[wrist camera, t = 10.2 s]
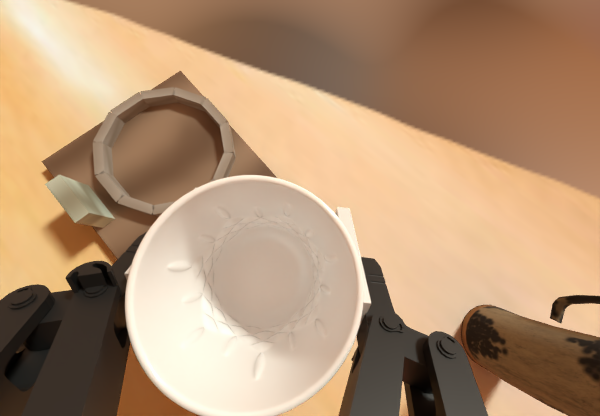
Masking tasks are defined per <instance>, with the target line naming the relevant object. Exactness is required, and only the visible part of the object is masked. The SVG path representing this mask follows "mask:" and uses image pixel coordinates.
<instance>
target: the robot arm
mask: <svg viewBox="0 0 600 416" xmlns="http://www.w3.org/2000/svg"><path fill="white" fill-rule="evenodd" d="M195 189H196V187H195ZM335 214H336V215H337V216H338V218H339V219H340V220H341V222H342V223H343V225H344V226H345V228H346V229H347V231H348V233H349V235H350V236H351V238H352V241H353V243H354V245H355V248H356V250H357V253H358V256H359V260H360V264H361V268H362V274H363V284H364V301H363V311H362V317H361V321H360V325H359V329H358V332H357V335H356V336H357V341H358V347H357V349H356V351H355V353H354V356H353V358H352V361H353V363H352V367H351V371H350V375H349V378H348V382H347V386H346V390H345V393H344V397H343V401H342V405H341V409H340V412H339V416H399V410H400V399H401V388H402V381H403V382H404V386H405V393H406V400H407V407H408V414H409V416H488V414H487V411H486V408H485V406H484V403H483V400H482V397H481V394H480V392H479V389H478V386H477V383H476V381H475V378H474V375H473V372H472V370H471V367H470V364H469V361H468V359H467V356H466V353H465V351H464V349H463V348H462V346H461V345H460V344H459V343H458V341H457V340H456V339H454V338H453V337H452V336H450V335H449V334H446V333H444V332H438V331H435V332H433V333H431V334H430V335H429V336H427V335H425V334H422V333H420V332H418V331H415V330H413V329H411V328H409V327H407V326H406V325H405V324H404V322H403V320H402V319H401V318H400V317H399V316H398V315H397V314H395V312H394V309H393V306H392V303H391V299H390V296H389V293H388V290H387V286H386V284H385V280H384V277H383V273H382V270H381V267H380V266H379V264H378V263H377V262H376V260H375V259H372V258H364V257H361V256H360V251H359V247H358V243H357V238H356V234H355V230H354V225H353V221H352V216H351V212H350V208H344V207H337V209H336V213H335ZM147 232H148V231H147ZM147 232H145V233H144V234H142V235H140V236H139V237H138V238H137V239H136V240H135V241H134V242H133V243H132V244H131V246H129V248H128V249H127V250H126V252H124V253H123V254H122V255H121V256H120V257H119V259H118V260H117V261H116V262H115V263H114V264H113V265H112V266H110V264H109V263H107V262H104V261H93V262H88V263H85V264H83V265H80V266H78V267H76V268H75V269H74V270H72V271H71V272H70V273H69V274H68V275H67V276H66V280H67V282H68V283H69V285H70V287H71V289H72V290H69V291H61V292H54V293H51V292H50V291H49V289H48V288H47V287H46V286H44V285H29V286H26V287H23V288H20V289H17V290H15V291H13V292H11V293H9V294H8V295H7V296H5V297H4V298H3V299H1V300H0V416H117V410H118V405H119V400H120V394H121V389H122V384H123V378H124V373H125V367H126V362H127V357H128V351H129V346H130V339H129V335H128V331H127V325H126V318H125V292H126V285H127V279H128V275H129V271H130V267H131V264H132V261H133V259H134V256H135V254H136V251H137V249H138V247H139V245H140V243H141V241H142V240H143V238H144V236H145V235H146V233H147Z"/></svg>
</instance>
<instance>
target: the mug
mask: <svg viewBox="0 0 600 416" xmlns="http://www.w3.org/2000/svg"><path fill="white" fill-rule="evenodd" d="M585 303H595V304H600V296H588V295H574V296H565V297H559V298H558V299H556V300H555V302H554V303H553V305H552V310H551V316H550V318H551V319H553V320H555V321H557V322H559V323H562V319H563V315H564V311H565V309H566V308H567V307H568V306H569V305H571V304H585ZM461 337H462V342H463V345H464V348H465V350H466V352H467V353H468V355H469V356H470V357H471V358H472V360H473V361H474V362H476V363H477V364H479V365H480V366H482V367H484V368H486V369H487V370H489V371H490V372H492V373H493V374H495V375H496V376H498V377H499V378H501V379H502V380H504V381H505V382H507V383H509V384H510V385H512V386H514V387H516V388H518V389H519V390H521V391H523V392H525V393H526V394H528V395H530V396H532V397H533V398H535V399H537V400H539V401H541V402H542V403H544V404H546V405H548V406H550V407H552V408H554V409H556V410H558V411H560V412H562V413H564V414H566V415H568V416H600V337H596V336H592V335H588V334H583V333H579V332H575V331H571V330H567V329H563V328H558V327H554V326H551V325H548V324H545V323H541V322H538V321H535V320H531V319H528V318H525V317H522V316H519V315H517V314H514V313H512V312H509V311H507V310H504V309H501V308H498V307H495V306H492V305H480V306H477V307H475V308H473V309H472V310H470V311H469V313H468V314H467V315H466V316H465V318H464V321H463V323H462V329H461Z"/></svg>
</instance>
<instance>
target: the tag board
mask: <svg viewBox="0 0 600 416" xmlns="http://www.w3.org/2000/svg"><path fill="white" fill-rule="evenodd" d="M111 112H112V113H111ZM111 112H109V113H108V115H107V117H106V118H105V120H104V121H103V122H101V123H100V124H98V125H97V126H95V127H94V128H92V129H91V130H89V131H88V132H86V133H85V134H83V135H82V136H80V137H79V138H77V139H76V140H74V141H73V142H71V143H69V144H68V145H66V146H65V147H63V148H62V149H60V150H59V151H57V152H56V153H54V154H53V155H51V156H50V157H48V158H47V159H45V160H44V161H42V162H43V164H44V165H45V166H46V168H47V169H48V170H49V171H50V173H51V174H52V175H53V177H54V179H52V180H51V181H49V182H48V183H46V184H45V185H46V186H47V187H48V189H49V190H50V191H51V193H52V194H53V195H54V197H55V198H56V199H57V200H58V202H59V203H60V204H61V206H62V207H63V208H64V210H65V211H66V212H67V213H68V215H69V216H70V217H71V219H72V220H73V221H74V223H77V224H83V225H89V226H92V227H93V228H94V229H95V231H96V232H97V233H98V235H99V236H100V237H101V238H102V240H103V241H104V242H105V244H106V245H107V246H108V247H109V249H110V250H111V251H112V253H113V254H114V255H115V256H116V258H117V259H119V257H120V256H121V255H122V254H123V253H124V252H126V250H127V249H128V248H129V246H131V244H132V243H133V242H134V241H135V240H136V239H137V238H138V237H139V236H140V235H142V234H144V233H145V232H147V231H148V230H149V229H150V227H151V226H152V225H153V223H154V222H155V221H156V220H157V219H158V217H159V216H160V215H161V214H162V213H163V212H164V211H165V210H166V209H167V208H168V207H169V206H171V205H172V204H173V203H174V202H175V201H177V200H178V199H179V198H181V197H182V196H184V195H185V194H187V193H189V192H190V191H192V190H194V189H195V187H196V188H198V187H200V186H202V185H204V184H207V183H209V182H212V181H215V180H219V179H222V178H227V177H232V176H240V175H261V176H269V177H274V178H277V177H276V176H275V175H274V174H273V173H272V172H271V170H270V169H269V168H268V167H267V166H266V165H265V164H264V163H263V162H262V160H261V159H260V158H259V157H258V156H257V155H256V154H255V153H254V152H253V151H252V149H251V148H250V147H249V146H248V145H247V144H246V143H245V142H244V141H243V139H242V138H241V137H240V136H239V135H238V134H237V133H236V132H235V131H234V130H233V128H232V127H231V126H230V125H229V123H228V121H227V120H226V118H225V117H224V116H223V115H222V114H221V113H220V112H219V111H218V110H217V109H216V107H215V106H214V105H213V104H212V103H211V102H210V101H209V100H208V99H206V97H204V96H203V95H202V94H201V93H200V92H199V91H198V90H197V89H196V87H195V86H194V85H193V84H192V83H191V82H190V81H189V80H188V79H187V78H186V76H185V75H184V74H183V73H182V72H181V71H179V72H178V73H176V74H175V75H173V76H172V77H170V78H169V79H167V80H166V81H164V82H162V83H161V84H159V85H158V86H156V87H155V88H153V89H152V90H148V91H141V94H140V93H139V92H138V93H137V94H135V95H134V96H132V97H131V98H129V99H127V100H126V101H124V102H123V103H121V104H120V105H118V106H117V107H115V108H114V109H112V110H111Z"/></svg>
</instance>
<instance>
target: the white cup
mask: <svg viewBox="0 0 600 416" xmlns="http://www.w3.org/2000/svg"><path fill="white" fill-rule="evenodd" d="M363 301H364V284H363V274H362V268H361V264H360V260H359V256H358V253H357V250H356V248H355V245H354V243H353V241H352V238H351V236H350V235H349V233H348V231H347V229H346V228H345V226H344V225H343V223H342V222H341V220H340V219H339V218H338V216H337V215H336V214H335V213H334V212H333V211H332V210H331V209H330V208H329V207H328V206H327V205H326V204H325V203H324V202H323V201H322V200H320V199H319V198H318V197H317V196H315V195H314V194H312V193H311V192H309V191H307V190H306V189H304V188H302V187H300V186H298V185H296V184H293V183H291V182H288V181H285V180H282V179H278V178H274V177H269V176H261V175H240V176H232V177H227V178H222V179H219V180H215V181H212V182H209V183H207V184H204V185H202V186H200V187H198V188H196V189H194V190H192V191H190V192H189V193H187V194H185V195H184V196H182V197H181V198H179V199H178V200H177V201H175V202H174V203H173V204H172V205H171V206H169V207H168V208H167V209H166V210H165V211H164V212H163V213H162V214H161V215H160V216H159V217H158V219H157V220H156V221H155V222H154V223H153V225H152V226H151V227H150V229H149V230H148V232H147V233H146V235H145V236H144V238H143V240H142V241H141V243H140V245H139V247H138V249H137V251H136V254H135V256H134V259H133V261H132V264H131V267H130V271H129V275H128V279H127V285H126V292H125V318H126V325H127V331H128V335H129V339H130V342H131V345H132V348H133V351H134V353H135V355H136V358H137V360H138V362H139V363H140V365H141V367H142V369H143V370H144V372H145V373H146V375H147V376H148V377H149V379H150V380H151V381H152V383H153V384H154V385H155V386H156V387H157V388H158V389H159V390H160V391H161V392H162V393H163V394H164V395H165V396H166V397H168V398H169V399H170V400H172V401H173V402H174V403H176V404H177V405H179V406H181V407H182V408H184V409H186V410H188V411H190V412H192V413H194V414H197V415H199V416H278V415H280V414H283V413H285V412H288V411H290V410H292V409H294V408H296V407H297V406H299V405H301V404H302V403H304V402H306V401H307V400H308V399H310V398H311V397H313V396H314V395H315V394H316V393H317V392H319V391H320V390H321V389H322V388H323V387H324V386H325V385H326V384H327V383H328V382H329V381H330V380H331V379H332V377H333V376H334V375H335V374H336V372H337V371H338V370H339V368H340V367H341V365H342V364H343V362H344V361H345V359H346V357H347V355H348V354H349V352H350V350H351V348H352V345H353V343H354V341H355V338H356V335H357V332H358V329H359V325H360V321H361V317H362V311H363Z"/></svg>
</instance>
